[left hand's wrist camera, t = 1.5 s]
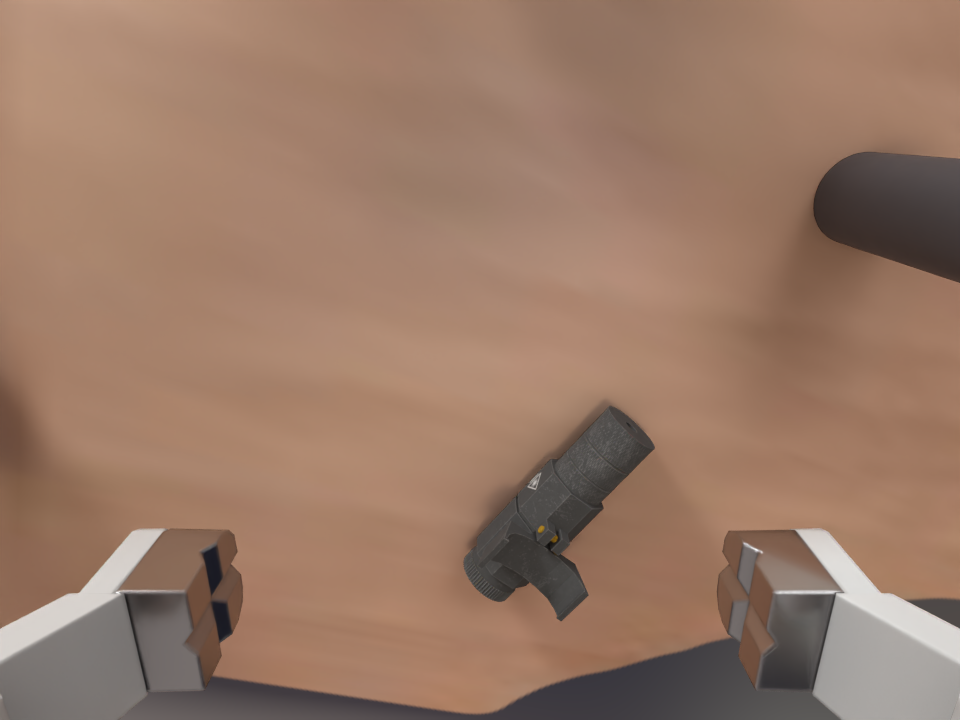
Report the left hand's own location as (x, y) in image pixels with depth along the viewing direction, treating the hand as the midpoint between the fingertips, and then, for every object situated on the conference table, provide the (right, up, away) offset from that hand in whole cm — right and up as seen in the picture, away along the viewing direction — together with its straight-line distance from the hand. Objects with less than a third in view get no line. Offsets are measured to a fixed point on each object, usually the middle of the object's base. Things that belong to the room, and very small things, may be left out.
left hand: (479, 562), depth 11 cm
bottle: (+33, +17, +45) cm, 58 cm away
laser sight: (+7, -10, +55) cm, 56 cm away
